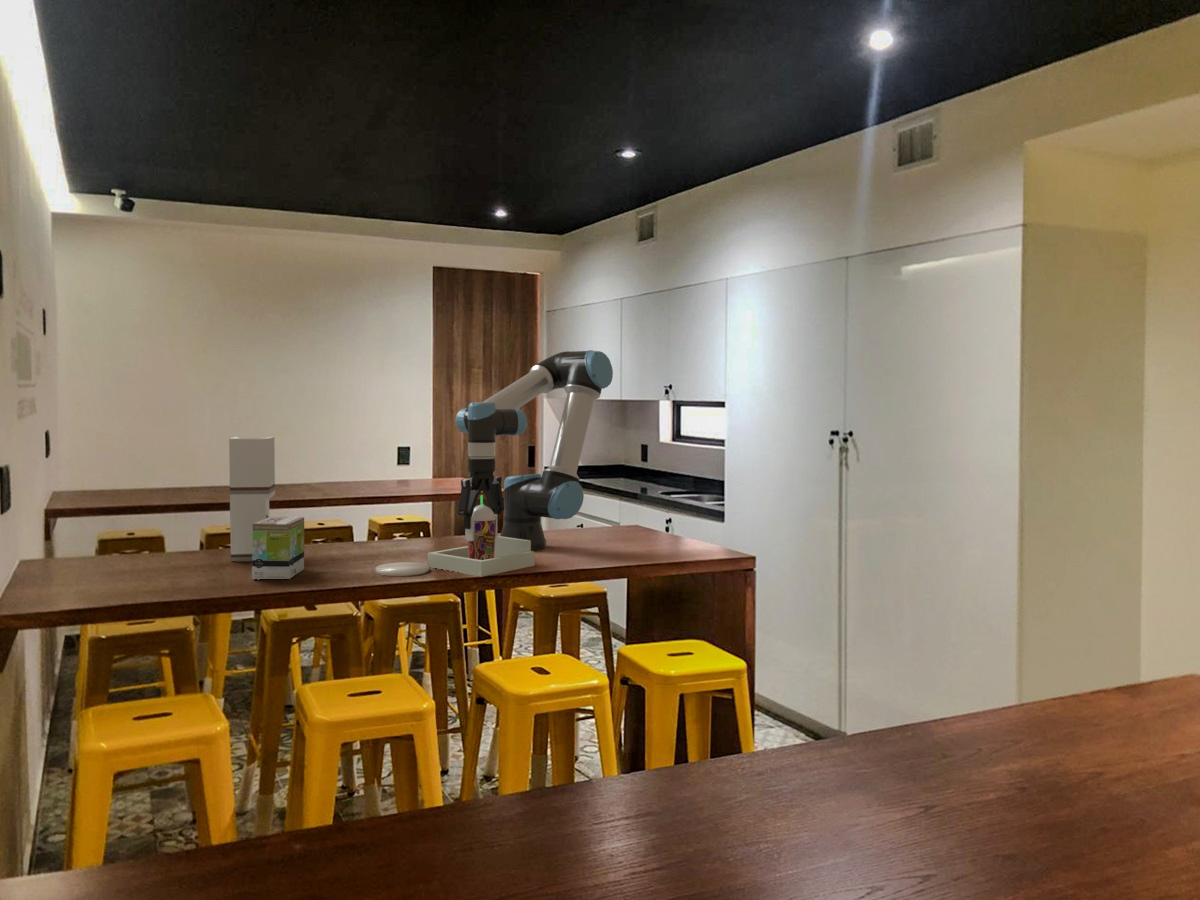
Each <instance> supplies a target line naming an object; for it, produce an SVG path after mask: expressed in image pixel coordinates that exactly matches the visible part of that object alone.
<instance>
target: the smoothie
mask: <svg viewBox="0 0 1200 900" xmlns="http://www.w3.org/2000/svg"><path fill="white" fill-rule="evenodd" d="M479 496H480V504H479V505H475V508H474V511H473V514H472V517H474V541H467V545H468V548H469V558H470V559H477V560H486V559H491V558H494V548H495V532H496V519H497V517H495V514H494V512H493V510H492V509H491V508H489V505H488V506H487V505H485V504H484V502H483V501H484V500H483V499H484V495H483V494H480V495H479Z"/></svg>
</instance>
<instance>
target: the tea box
mask: <svg viewBox="0 0 1200 900" xmlns="http://www.w3.org/2000/svg"><path fill="white" fill-rule="evenodd" d="M304 569H305V517H302V516H299V517H298V516H269V517H268V518H265V519H263V520H261V521H258V522H256V523H253V539H252V561H251V579H252V580H255V579H257V580H258V581H260V579H289V580H290V579H291V578H293V577H294V576H295V575H297V574H299V573H300V572H302V571H303V570H304ZM257 580H256V581H257Z"/></svg>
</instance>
